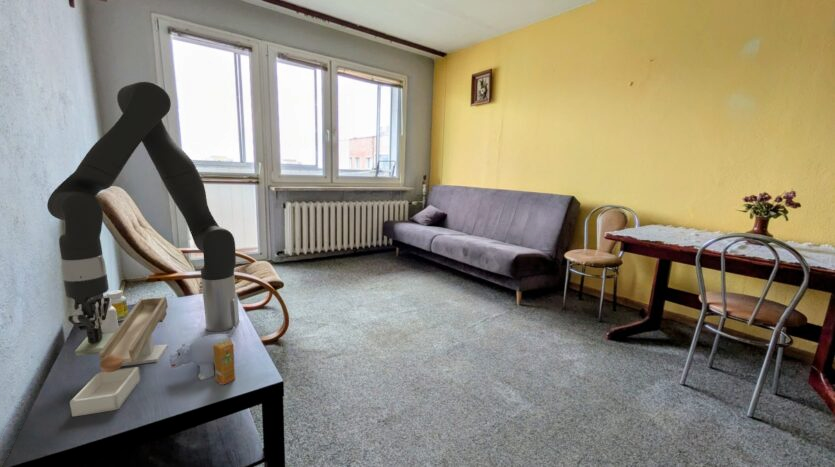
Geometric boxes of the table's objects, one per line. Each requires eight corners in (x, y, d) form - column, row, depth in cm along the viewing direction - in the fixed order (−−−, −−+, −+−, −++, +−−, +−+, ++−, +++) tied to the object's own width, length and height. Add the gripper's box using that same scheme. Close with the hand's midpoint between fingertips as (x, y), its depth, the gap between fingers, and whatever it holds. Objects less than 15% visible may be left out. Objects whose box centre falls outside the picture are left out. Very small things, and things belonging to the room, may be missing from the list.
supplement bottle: (108, 318, 117) (104, 291, 115) (128, 314, 121) (124, 288, 119) (107, 323, 113) (103, 296, 111) (128, 319, 117) (124, 292, 115)
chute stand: (168, 346, 101) (165, 326, 99) (157, 361, 93) (154, 339, 92) (126, 351, 98) (123, 330, 96) (112, 367, 90) (108, 344, 89)
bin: (140, 379, 86) (138, 366, 85) (118, 409, 75) (116, 395, 75) (100, 385, 83) (98, 372, 82) (72, 416, 73) (69, 401, 72)
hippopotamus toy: (170, 368, 91) (166, 334, 89) (233, 350, 100) (231, 320, 98) (173, 389, 82) (169, 353, 81) (242, 368, 92) (239, 335, 90)
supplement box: (223, 386, 84) (219, 348, 82) (215, 381, 86) (212, 344, 84) (236, 379, 87) (233, 342, 85) (228, 374, 88) (225, 338, 87)
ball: (126, 368, 83) (126, 351, 83) (117, 373, 79) (117, 355, 79) (105, 371, 82) (105, 353, 82) (95, 376, 78) (96, 357, 78)
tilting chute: (169, 312, 107) (165, 296, 105) (137, 367, 86) (132, 349, 84) (119, 316, 103) (115, 300, 101) (73, 375, 82) (66, 357, 80)
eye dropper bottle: (120, 326, 112) (115, 291, 109) (118, 333, 107) (113, 297, 105) (102, 329, 109) (96, 294, 107) (100, 337, 105) (93, 300, 103)
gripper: (89, 282, 78) (99, 353, 81) (118, 266, 90) (126, 328, 93) (46, 285, 75) (59, 357, 78) (82, 268, 88) (92, 331, 91)
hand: (95, 341), depth 86 cm, fingers closed
